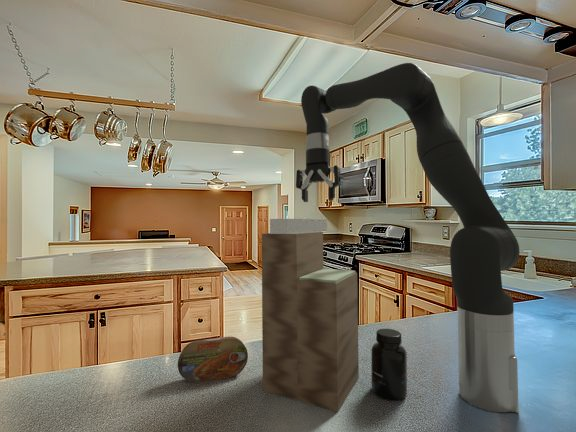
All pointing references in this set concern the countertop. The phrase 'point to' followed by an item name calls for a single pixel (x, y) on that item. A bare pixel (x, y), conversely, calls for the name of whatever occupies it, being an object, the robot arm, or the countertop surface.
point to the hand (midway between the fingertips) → (318, 201)
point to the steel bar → (297, 226)
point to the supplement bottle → (389, 365)
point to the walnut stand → (307, 322)
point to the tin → (212, 359)
